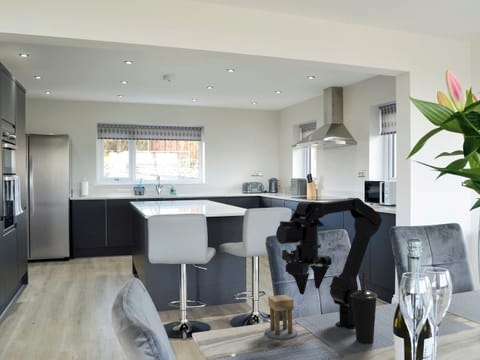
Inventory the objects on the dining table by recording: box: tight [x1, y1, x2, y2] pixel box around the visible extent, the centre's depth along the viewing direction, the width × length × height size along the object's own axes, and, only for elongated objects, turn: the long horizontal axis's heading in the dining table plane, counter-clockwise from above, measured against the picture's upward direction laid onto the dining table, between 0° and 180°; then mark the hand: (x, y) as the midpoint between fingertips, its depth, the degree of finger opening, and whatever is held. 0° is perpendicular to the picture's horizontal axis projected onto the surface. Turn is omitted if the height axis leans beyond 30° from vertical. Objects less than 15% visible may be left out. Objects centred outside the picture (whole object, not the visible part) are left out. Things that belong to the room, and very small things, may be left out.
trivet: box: [264, 325, 298, 340], centre depth 132 cm, size 10×10×1 cm
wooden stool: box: [267, 294, 295, 336], centre depth 132 cm, size 6×6×10 cm
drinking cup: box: [351, 272, 378, 345], centre depth 124 cm, size 8×8×20 cm
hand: (309, 291), depth 132 cm, fingers open, 9 cm apart
